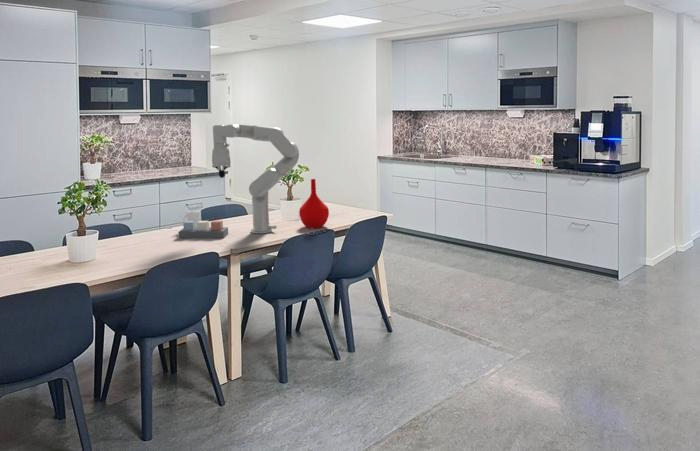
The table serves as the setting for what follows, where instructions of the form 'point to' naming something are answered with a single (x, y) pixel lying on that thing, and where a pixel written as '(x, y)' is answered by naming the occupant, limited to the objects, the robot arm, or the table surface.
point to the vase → (314, 210)
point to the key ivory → (202, 225)
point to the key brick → (216, 225)
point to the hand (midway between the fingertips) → (222, 177)
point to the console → (203, 233)
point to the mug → (193, 216)
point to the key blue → (189, 225)
